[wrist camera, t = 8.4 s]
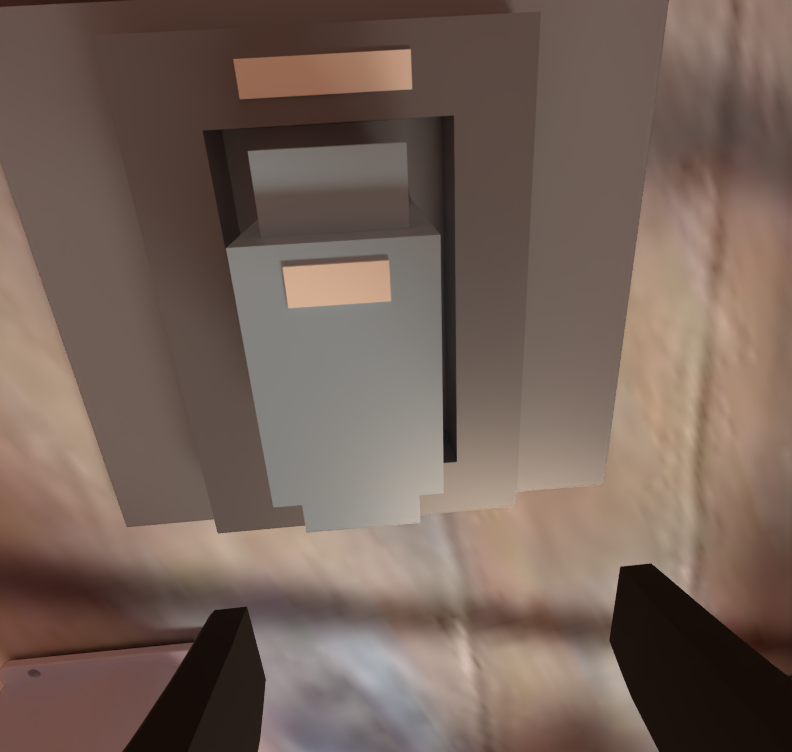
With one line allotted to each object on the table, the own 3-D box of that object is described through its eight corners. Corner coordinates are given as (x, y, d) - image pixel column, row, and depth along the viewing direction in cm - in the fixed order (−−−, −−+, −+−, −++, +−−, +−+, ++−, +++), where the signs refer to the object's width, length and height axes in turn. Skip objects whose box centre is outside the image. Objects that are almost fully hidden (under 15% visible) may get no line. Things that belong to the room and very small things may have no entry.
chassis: (135, 512, 20) (102, 569, 18) (-31, 16, 14) (-124, -12, 11) (594, 472, 21) (629, 520, 18) (656, -20, 14) (724, -54, 12)
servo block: (304, 433, 18) (282, 562, 13) (263, 145, 15) (207, 154, 9) (418, 424, 19) (445, 548, 13) (408, 138, 15) (439, 142, 9)
